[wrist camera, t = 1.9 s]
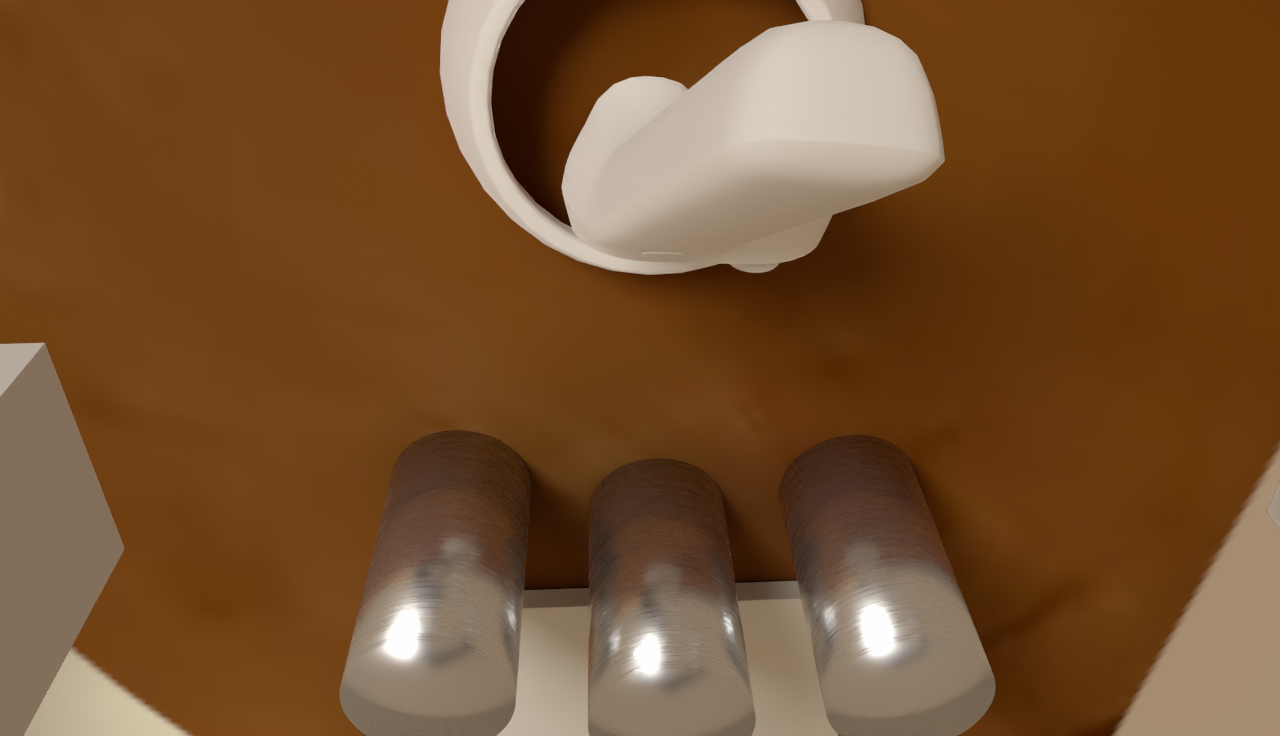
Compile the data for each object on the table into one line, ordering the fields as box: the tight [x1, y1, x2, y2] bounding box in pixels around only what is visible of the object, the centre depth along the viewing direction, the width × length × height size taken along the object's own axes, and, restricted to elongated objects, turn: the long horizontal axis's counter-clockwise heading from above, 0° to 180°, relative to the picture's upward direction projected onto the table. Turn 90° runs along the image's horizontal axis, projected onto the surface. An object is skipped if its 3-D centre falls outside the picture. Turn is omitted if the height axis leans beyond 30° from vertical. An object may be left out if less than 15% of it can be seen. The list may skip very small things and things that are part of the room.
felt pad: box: [496, 581, 838, 736], centre depth 29 cm, size 10×10×1 cm
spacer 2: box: [588, 459, 756, 736], centre depth 22 cm, size 3×3×6 cm
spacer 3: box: [779, 436, 995, 736], centre depth 22 cm, size 3×3×6 cm
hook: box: [440, 0, 945, 275], centre depth 15 cm, size 8×12×7 cm
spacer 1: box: [340, 431, 531, 736], centre depth 22 cm, size 3×3×6 cm
